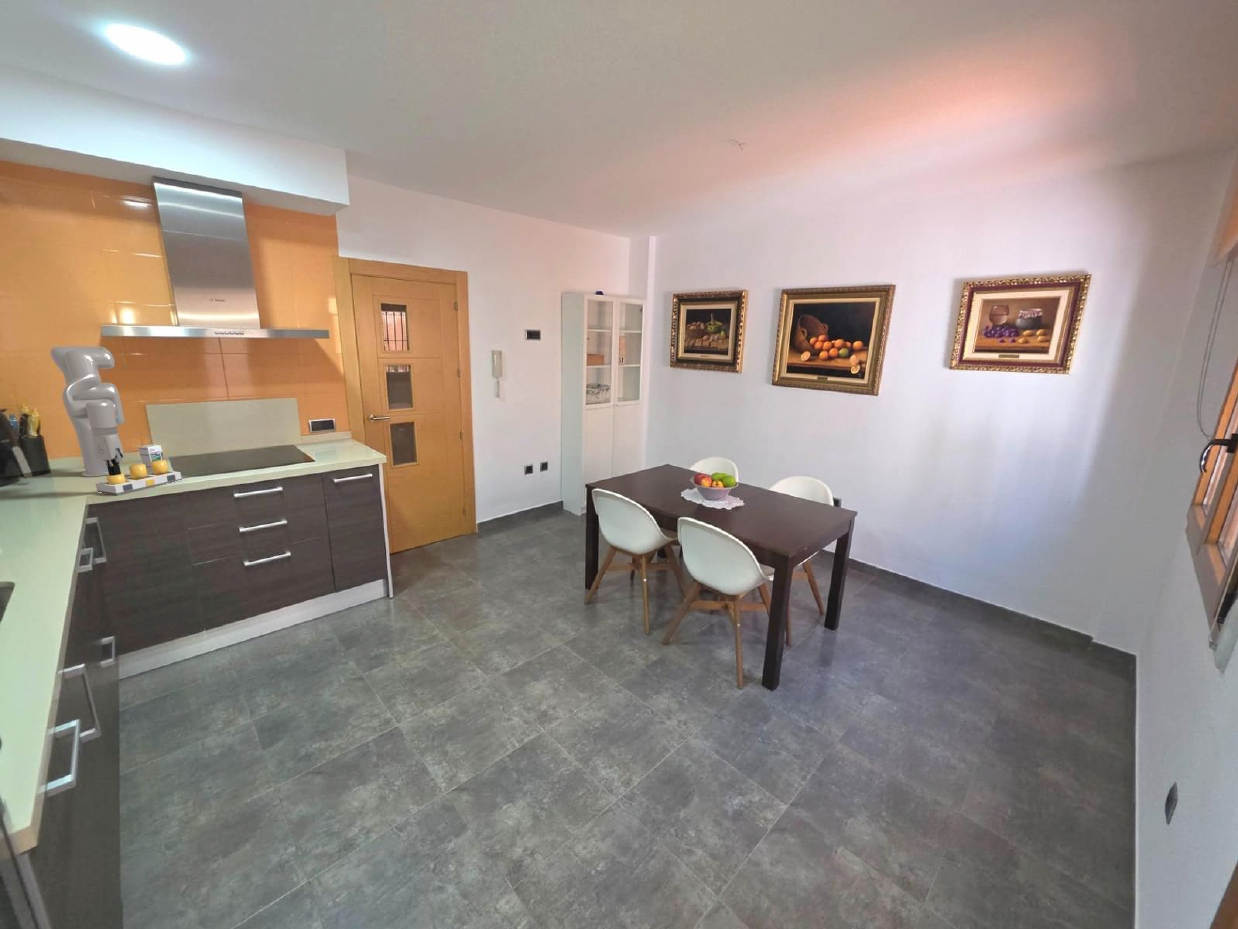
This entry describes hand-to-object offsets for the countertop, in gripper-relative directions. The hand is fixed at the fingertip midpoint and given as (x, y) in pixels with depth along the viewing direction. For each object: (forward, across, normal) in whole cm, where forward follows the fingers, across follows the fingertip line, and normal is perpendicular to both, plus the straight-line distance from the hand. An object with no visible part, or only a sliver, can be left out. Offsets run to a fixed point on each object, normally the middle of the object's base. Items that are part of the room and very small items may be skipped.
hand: (115, 474), depth 205 cm
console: (+7, 0, +8) cm, 11 cm away
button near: (+6, 0, 0) cm, 6 cm away
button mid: (+4, 0, +8) cm, 9 cm away
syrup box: (+7, -14, +22) cm, 27 cm away
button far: (+4, 0, +16) cm, 17 cm away
